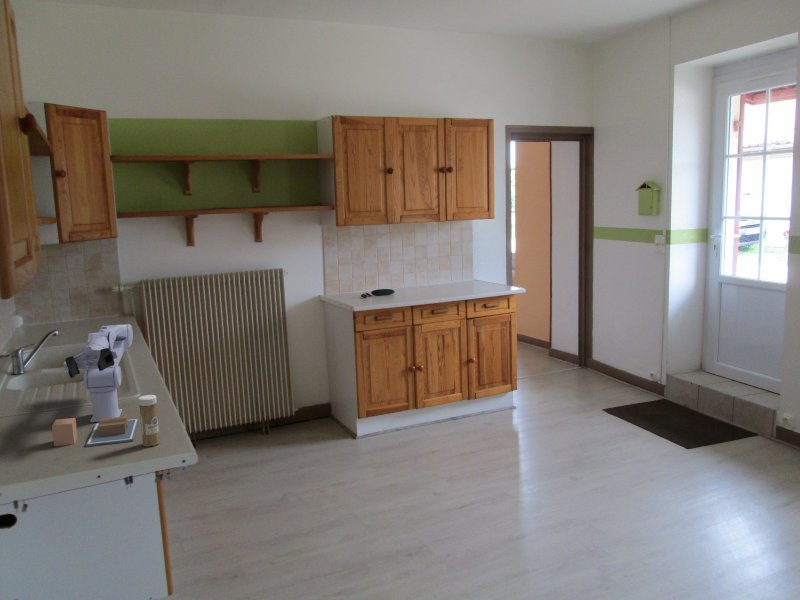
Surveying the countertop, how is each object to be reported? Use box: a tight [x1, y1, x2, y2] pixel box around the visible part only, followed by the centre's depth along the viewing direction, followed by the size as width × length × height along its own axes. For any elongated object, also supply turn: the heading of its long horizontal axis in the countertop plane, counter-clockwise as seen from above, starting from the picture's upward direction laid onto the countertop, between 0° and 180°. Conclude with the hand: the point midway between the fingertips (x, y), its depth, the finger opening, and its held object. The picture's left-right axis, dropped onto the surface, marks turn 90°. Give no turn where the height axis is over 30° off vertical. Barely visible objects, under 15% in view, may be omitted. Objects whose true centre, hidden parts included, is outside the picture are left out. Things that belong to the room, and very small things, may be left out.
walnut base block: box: [98, 415, 129, 437], centre depth 189 cm, size 7×7×3 cm
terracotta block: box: [51, 417, 78, 447], centre depth 183 cm, size 5×5×6 cm
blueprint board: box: [85, 418, 140, 448], centre depth 189 cm, size 18×12×1 cm, turn 17°
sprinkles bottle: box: [138, 394, 161, 447], centre depth 179 cm, size 5×5×13 cm
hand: (85, 371), depth 181 cm, fingers open, 7 cm apart
